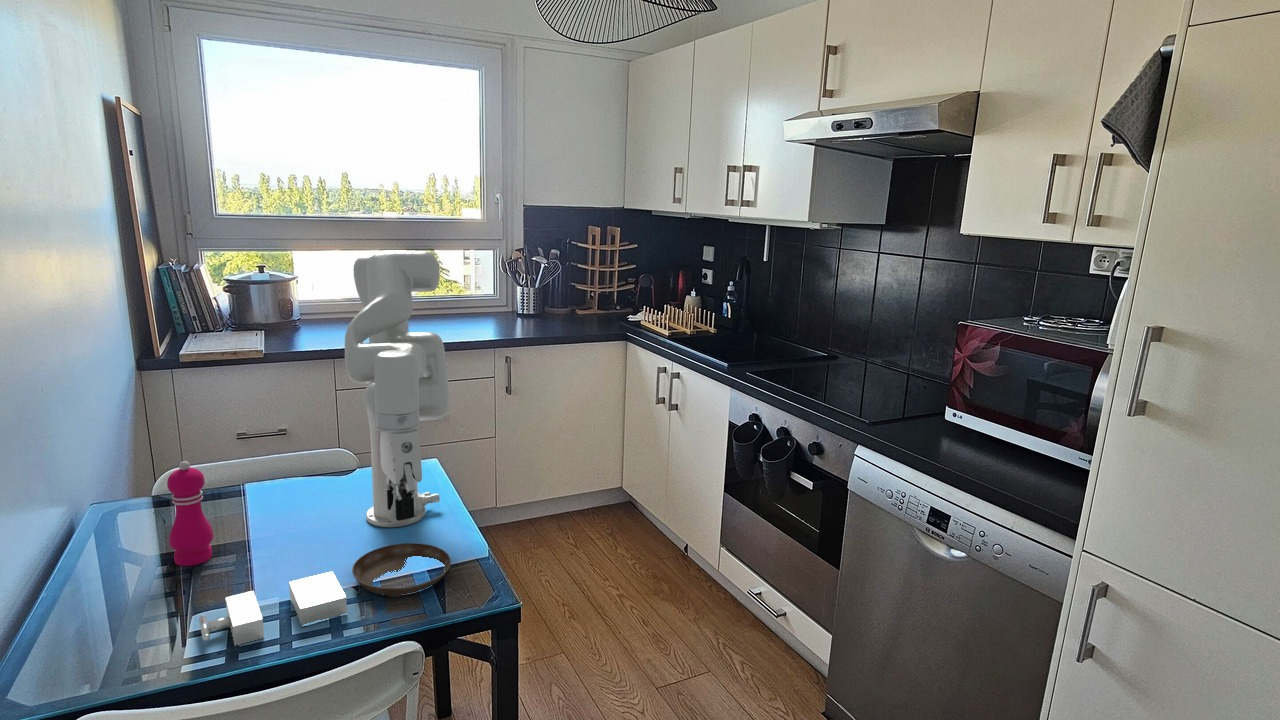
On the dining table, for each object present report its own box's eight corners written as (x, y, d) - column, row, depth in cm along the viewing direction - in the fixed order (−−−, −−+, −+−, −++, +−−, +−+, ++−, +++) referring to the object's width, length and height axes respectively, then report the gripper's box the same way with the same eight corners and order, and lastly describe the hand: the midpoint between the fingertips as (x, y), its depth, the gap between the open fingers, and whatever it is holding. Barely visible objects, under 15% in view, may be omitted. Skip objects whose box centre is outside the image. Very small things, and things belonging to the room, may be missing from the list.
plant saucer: (447, 551, 149) (447, 537, 148) (454, 596, 133) (454, 580, 132) (355, 561, 144) (354, 547, 143) (350, 609, 127) (349, 593, 127)
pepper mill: (195, 570, 137) (185, 470, 133) (162, 564, 139) (151, 465, 134) (223, 552, 144) (215, 456, 140) (192, 547, 146) (182, 452, 141)
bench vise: (333, 588, 133) (332, 571, 132) (347, 615, 125) (346, 596, 124) (198, 623, 121) (196, 604, 120) (204, 654, 113) (202, 634, 112)
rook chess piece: (391, 514, 137) (390, 474, 136) (416, 514, 138) (414, 474, 136) (385, 524, 133) (384, 483, 131) (410, 524, 133) (409, 483, 132)
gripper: (434, 428, 127) (436, 526, 131) (403, 405, 140) (406, 494, 144) (390, 435, 122) (394, 535, 126) (363, 410, 136) (367, 501, 140)
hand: (400, 512), depth 135 cm, fingers closed on rook chess piece, 4 cm apart
